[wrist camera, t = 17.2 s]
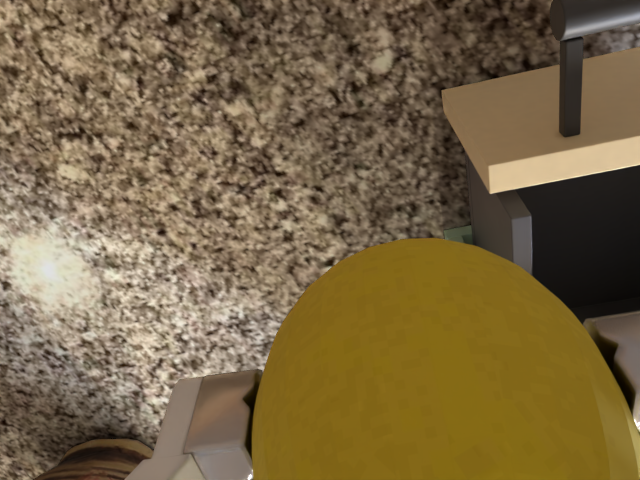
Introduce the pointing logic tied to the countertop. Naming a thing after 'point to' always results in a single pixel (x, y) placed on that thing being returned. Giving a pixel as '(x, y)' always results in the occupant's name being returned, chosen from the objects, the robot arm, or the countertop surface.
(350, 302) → the lemon
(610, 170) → the drawer
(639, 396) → the robot arm
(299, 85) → the countertop surface
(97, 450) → the ceramic jug
